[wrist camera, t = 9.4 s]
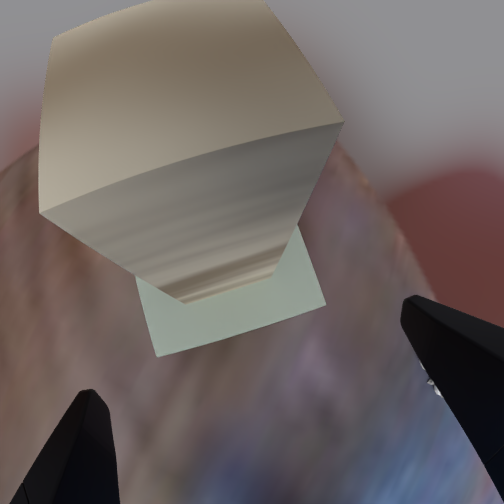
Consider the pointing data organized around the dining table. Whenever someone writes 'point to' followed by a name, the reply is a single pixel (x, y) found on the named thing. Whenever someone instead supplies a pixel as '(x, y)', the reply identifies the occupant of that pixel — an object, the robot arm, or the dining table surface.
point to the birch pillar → (183, 141)
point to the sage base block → (233, 305)
